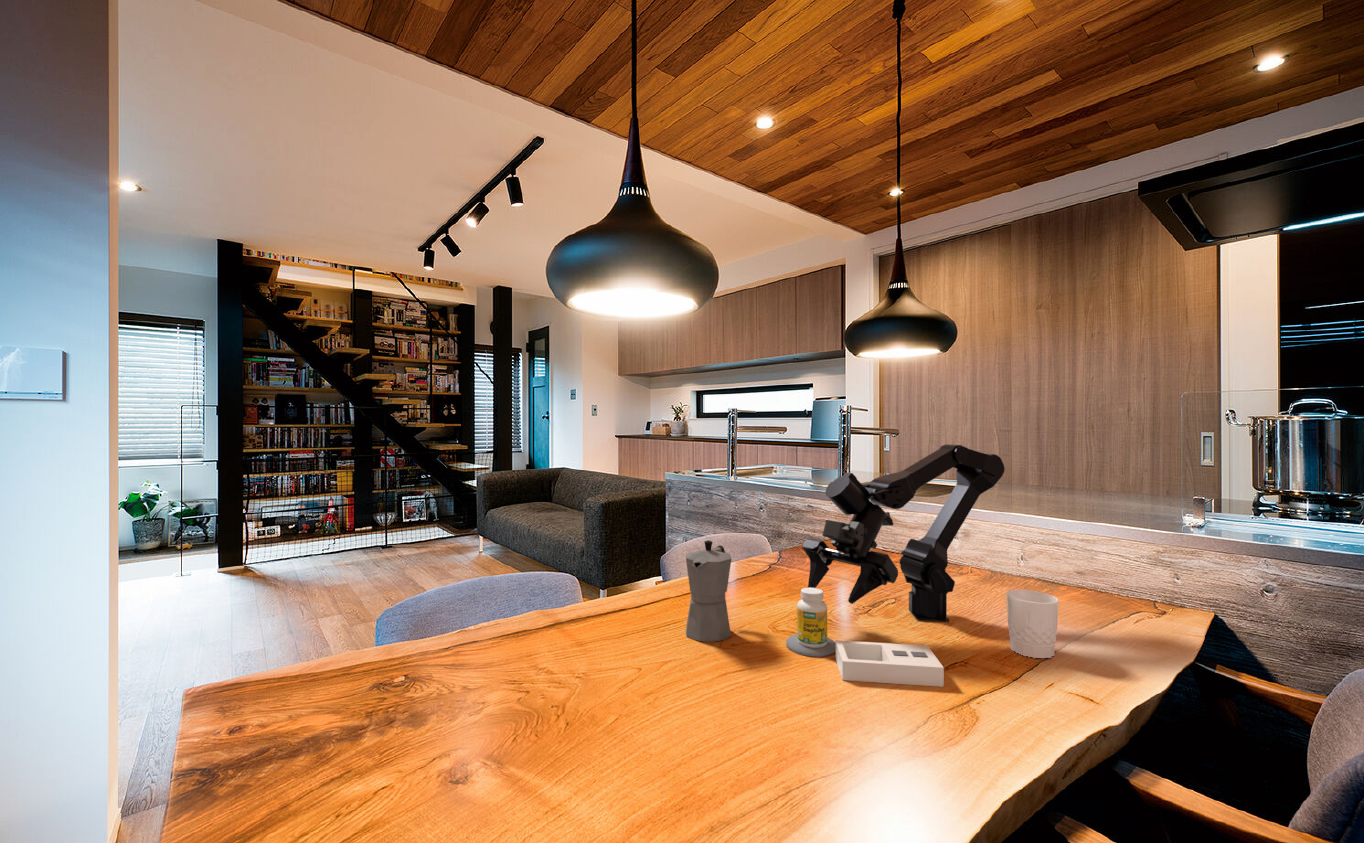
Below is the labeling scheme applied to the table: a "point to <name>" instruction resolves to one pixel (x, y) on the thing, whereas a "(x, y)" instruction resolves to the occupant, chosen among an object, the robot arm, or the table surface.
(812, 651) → the mat
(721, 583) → the coffeepot
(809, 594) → the supplement bottle
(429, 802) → the table surface
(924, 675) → the desk organizer
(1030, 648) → the white cup
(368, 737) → the table surface
